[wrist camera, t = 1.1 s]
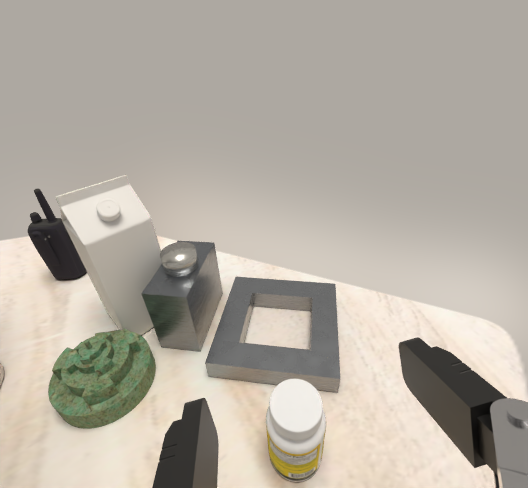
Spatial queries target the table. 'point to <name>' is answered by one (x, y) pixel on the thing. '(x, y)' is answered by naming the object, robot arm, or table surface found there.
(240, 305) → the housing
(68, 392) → the decorative artifact
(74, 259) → the two-way radio
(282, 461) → the supplement bottle
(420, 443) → the table surface
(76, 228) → the milk carton
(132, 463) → the table surface
